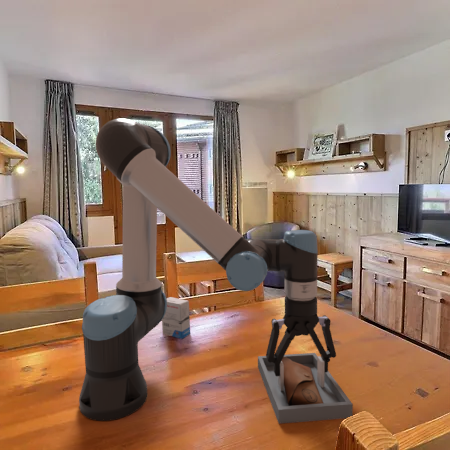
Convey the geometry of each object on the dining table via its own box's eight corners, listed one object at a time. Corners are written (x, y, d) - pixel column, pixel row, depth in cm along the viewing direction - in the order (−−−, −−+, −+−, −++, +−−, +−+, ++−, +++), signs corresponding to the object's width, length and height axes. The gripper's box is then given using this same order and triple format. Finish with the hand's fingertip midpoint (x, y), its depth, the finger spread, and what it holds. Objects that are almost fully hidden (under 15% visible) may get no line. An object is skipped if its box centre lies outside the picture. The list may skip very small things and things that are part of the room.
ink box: (191, 334, 119) (190, 300, 117) (181, 339, 115) (180, 304, 113) (171, 328, 123) (170, 296, 122) (161, 334, 119) (160, 300, 118)
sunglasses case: (328, 409, 77) (312, 384, 76) (299, 424, 77) (284, 399, 77) (310, 366, 95) (297, 346, 94) (287, 379, 95) (274, 359, 95)
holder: (278, 423, 74) (278, 409, 74) (257, 367, 97) (257, 356, 97) (352, 417, 76) (352, 404, 75) (314, 363, 98) (315, 352, 98)
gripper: (257, 304, 79) (259, 398, 82) (352, 298, 81) (351, 391, 84) (251, 293, 86) (253, 380, 89) (339, 288, 88) (338, 374, 91)
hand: (300, 385), depth 86 cm, fingers open, 9 cm apart
